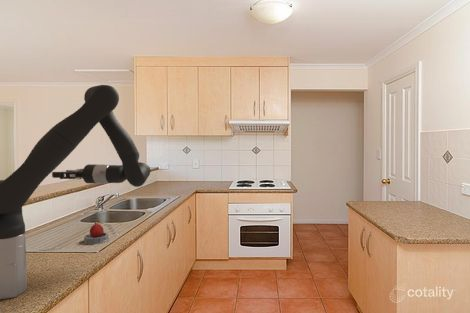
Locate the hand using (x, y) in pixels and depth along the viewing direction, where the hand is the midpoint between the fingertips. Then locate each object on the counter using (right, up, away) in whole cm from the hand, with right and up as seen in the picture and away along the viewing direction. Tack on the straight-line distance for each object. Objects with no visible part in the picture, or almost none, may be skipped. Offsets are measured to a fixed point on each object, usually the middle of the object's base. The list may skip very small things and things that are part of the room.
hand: (59, 173), depth 128 cm
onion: (+7, -31, +17) cm, 36 cm away
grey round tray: (+7, -31, +17) cm, 37 cm away
